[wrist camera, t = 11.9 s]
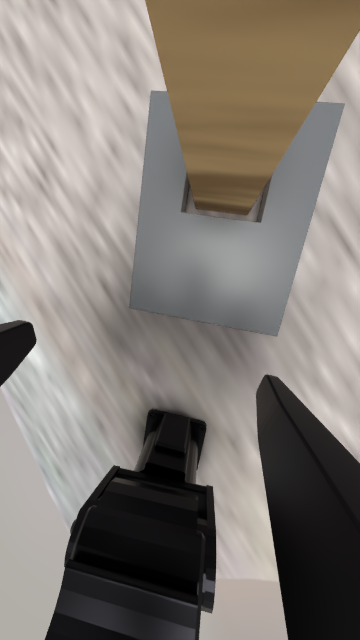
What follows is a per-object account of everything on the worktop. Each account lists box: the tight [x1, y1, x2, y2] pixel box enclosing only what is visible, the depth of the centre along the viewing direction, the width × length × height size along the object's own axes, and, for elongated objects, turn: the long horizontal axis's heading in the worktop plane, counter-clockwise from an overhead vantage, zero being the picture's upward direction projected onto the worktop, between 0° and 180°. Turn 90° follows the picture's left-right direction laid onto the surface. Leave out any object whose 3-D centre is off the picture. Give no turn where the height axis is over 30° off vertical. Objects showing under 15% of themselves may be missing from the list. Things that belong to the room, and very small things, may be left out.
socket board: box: [129, 91, 345, 336], centre depth 17 cm, size 16×13×2 cm
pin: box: [145, 0, 360, 215], centre depth 10 cm, size 4×4×14 cm
